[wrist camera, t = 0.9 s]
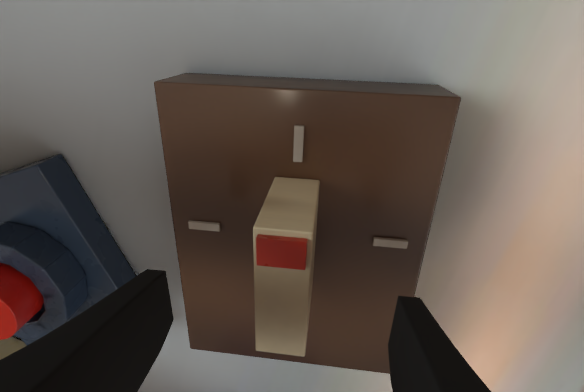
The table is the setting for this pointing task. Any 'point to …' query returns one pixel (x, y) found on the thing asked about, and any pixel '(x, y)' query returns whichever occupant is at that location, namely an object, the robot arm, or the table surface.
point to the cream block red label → (285, 265)
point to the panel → (331, 205)
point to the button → (16, 300)
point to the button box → (57, 243)
